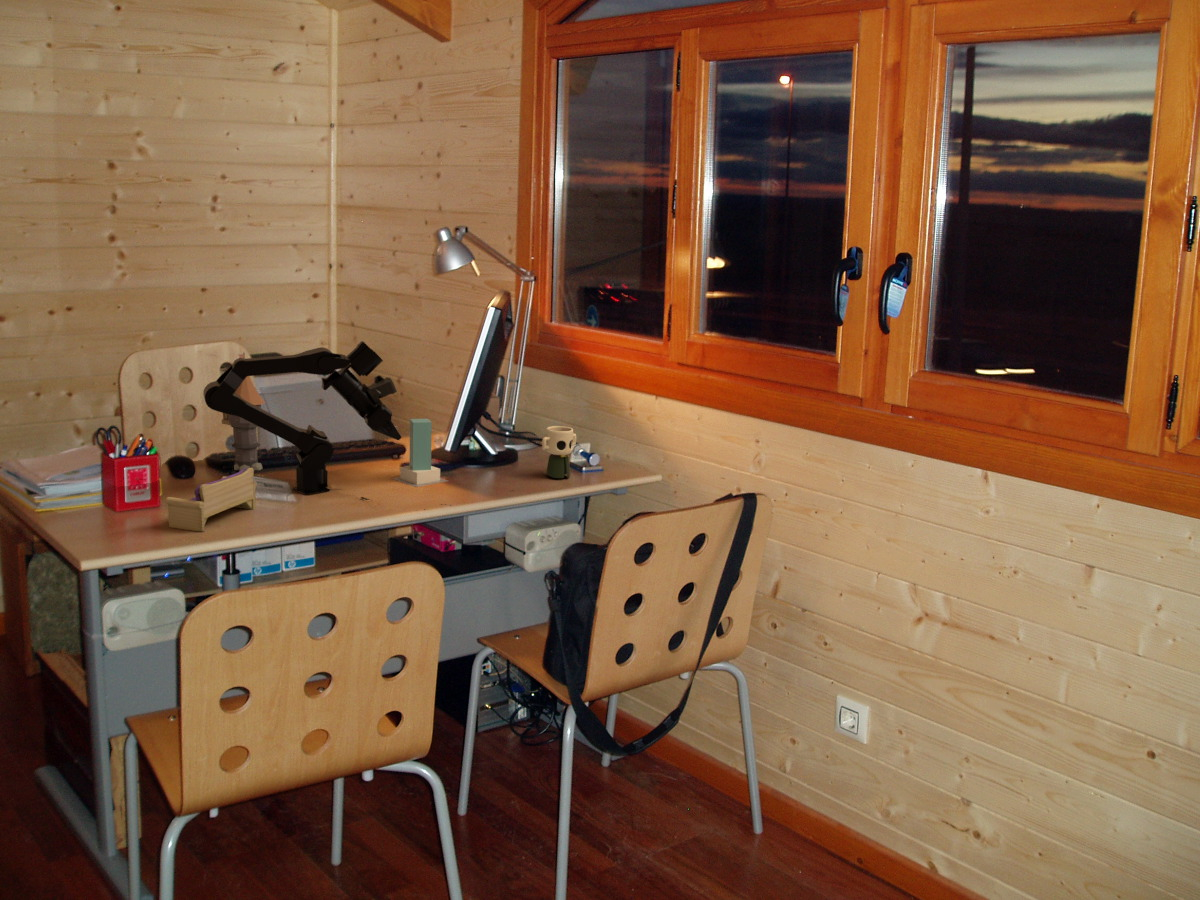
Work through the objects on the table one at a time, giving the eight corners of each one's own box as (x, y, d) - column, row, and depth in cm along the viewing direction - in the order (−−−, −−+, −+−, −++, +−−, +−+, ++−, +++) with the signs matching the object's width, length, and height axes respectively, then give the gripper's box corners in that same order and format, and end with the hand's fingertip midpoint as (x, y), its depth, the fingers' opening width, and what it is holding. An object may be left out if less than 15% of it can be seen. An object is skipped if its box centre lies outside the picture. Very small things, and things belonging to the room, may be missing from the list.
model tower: (237, 461, 296) (234, 347, 289) (274, 465, 293) (271, 351, 286) (214, 468, 287) (211, 352, 280) (252, 474, 284) (249, 356, 277)
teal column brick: (412, 470, 277) (413, 422, 274) (409, 466, 281) (409, 419, 278) (431, 469, 278) (431, 422, 276) (427, 465, 283) (428, 418, 280)
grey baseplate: (415, 492, 274) (415, 486, 274) (391, 484, 281) (391, 478, 280) (448, 486, 281) (448, 480, 281) (424, 478, 288) (424, 472, 287)
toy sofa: (225, 504, 258) (223, 460, 256) (258, 508, 256) (257, 465, 254) (165, 528, 239) (163, 482, 236) (200, 534, 236) (199, 487, 234)
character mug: (549, 483, 289) (551, 433, 286) (533, 476, 294) (534, 428, 291) (582, 477, 296) (584, 429, 293) (566, 471, 301) (567, 424, 298)
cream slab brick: (417, 484, 276) (417, 472, 275) (400, 478, 280) (400, 467, 280) (440, 480, 281) (440, 468, 280) (423, 474, 285) (423, 463, 285)
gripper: (383, 373, 262) (428, 419, 268) (370, 360, 279) (412, 404, 285) (348, 406, 261) (394, 452, 267) (337, 391, 278) (380, 435, 284)
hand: (396, 434), depth 276 cm, fingers open, 9 cm apart
